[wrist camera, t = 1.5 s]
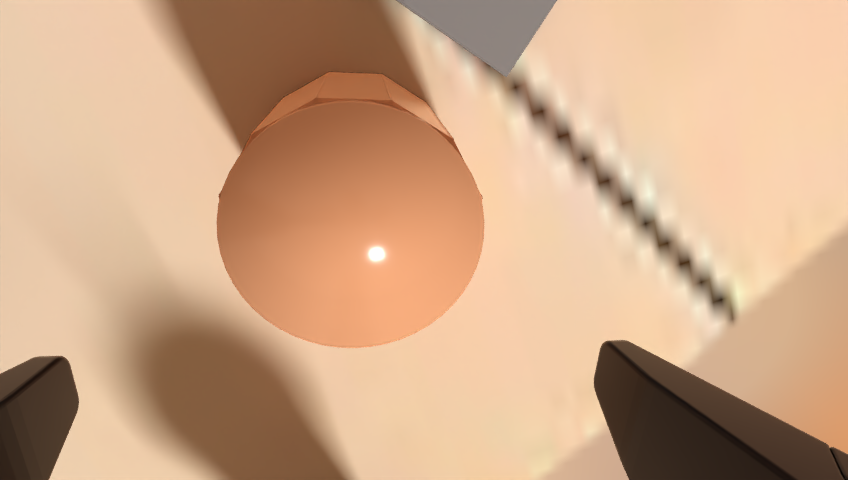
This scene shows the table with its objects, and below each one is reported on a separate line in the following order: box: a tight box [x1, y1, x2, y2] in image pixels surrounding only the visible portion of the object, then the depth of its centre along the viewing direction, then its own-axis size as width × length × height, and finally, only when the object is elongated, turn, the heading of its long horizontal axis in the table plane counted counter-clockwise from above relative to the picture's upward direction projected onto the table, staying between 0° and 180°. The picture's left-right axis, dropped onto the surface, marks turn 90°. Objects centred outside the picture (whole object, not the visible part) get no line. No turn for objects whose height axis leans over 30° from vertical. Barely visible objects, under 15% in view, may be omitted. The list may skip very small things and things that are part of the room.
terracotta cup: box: [217, 72, 484, 348], centre depth 17 cm, size 7×7×7 cm
